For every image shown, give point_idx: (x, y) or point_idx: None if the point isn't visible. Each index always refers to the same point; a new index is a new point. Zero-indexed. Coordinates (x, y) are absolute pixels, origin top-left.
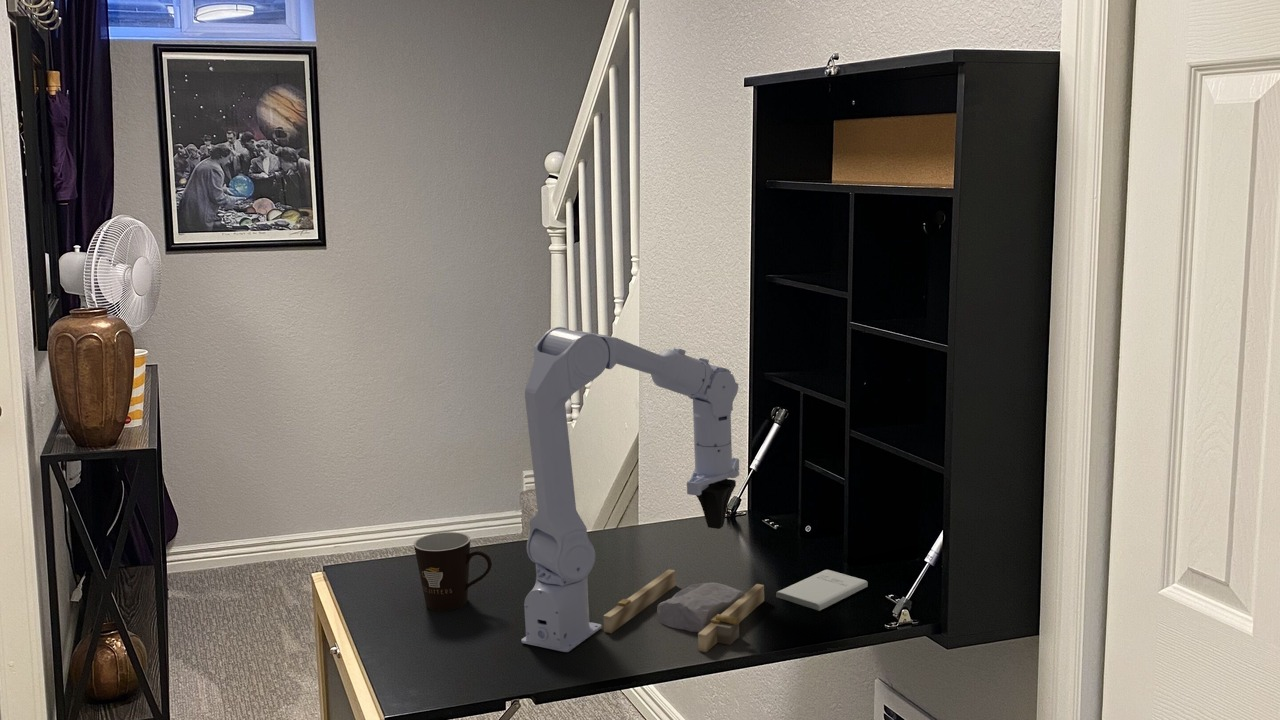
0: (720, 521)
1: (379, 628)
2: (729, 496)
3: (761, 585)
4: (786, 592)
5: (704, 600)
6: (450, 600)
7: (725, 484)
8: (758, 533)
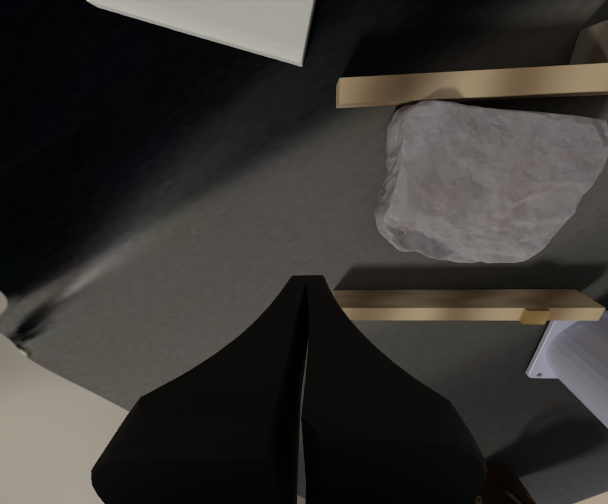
0: (327, 287)
1: (573, 490)
2: (240, 351)
3: (345, 83)
4: (297, 26)
5: (568, 153)
6: (518, 480)
7: (270, 488)
8: (28, 272)
